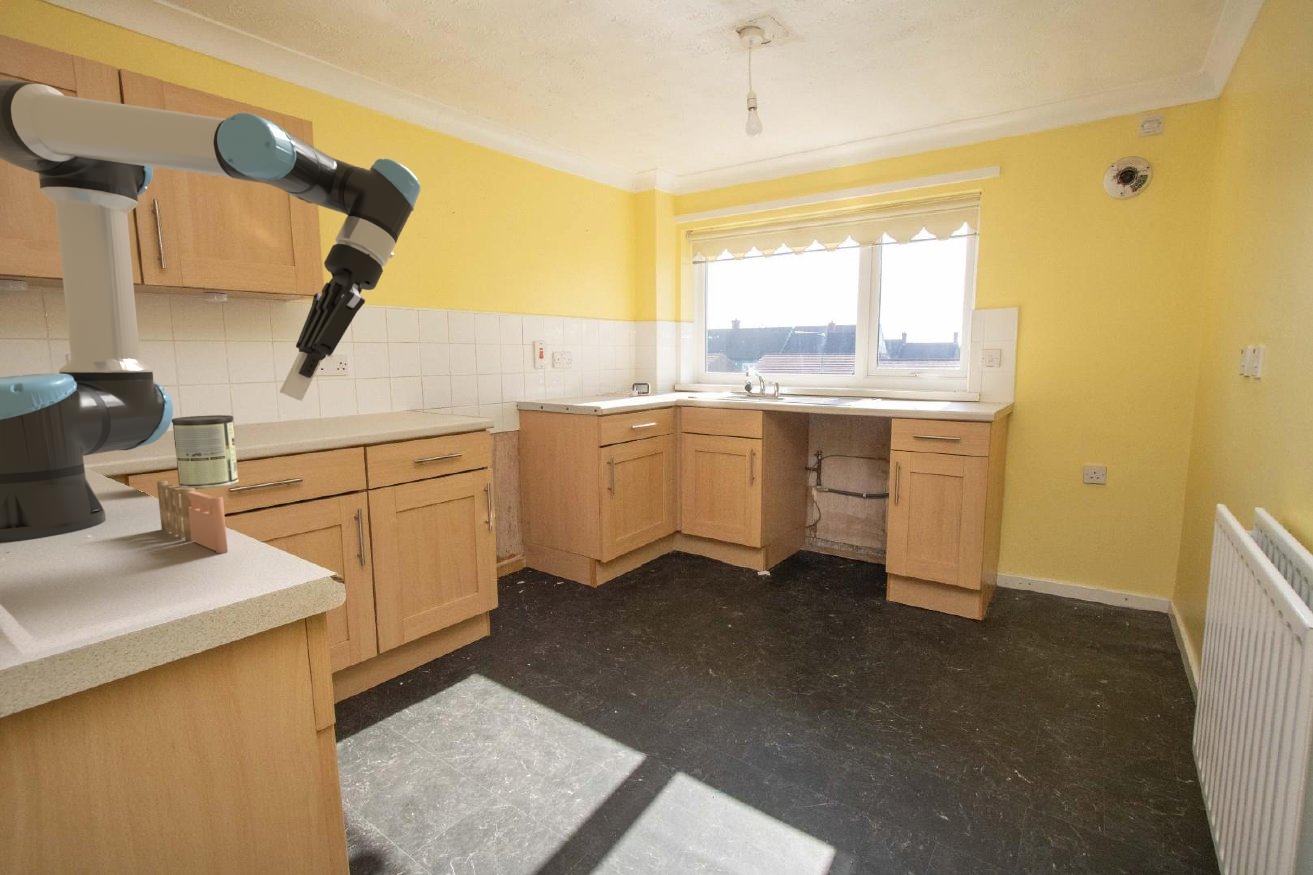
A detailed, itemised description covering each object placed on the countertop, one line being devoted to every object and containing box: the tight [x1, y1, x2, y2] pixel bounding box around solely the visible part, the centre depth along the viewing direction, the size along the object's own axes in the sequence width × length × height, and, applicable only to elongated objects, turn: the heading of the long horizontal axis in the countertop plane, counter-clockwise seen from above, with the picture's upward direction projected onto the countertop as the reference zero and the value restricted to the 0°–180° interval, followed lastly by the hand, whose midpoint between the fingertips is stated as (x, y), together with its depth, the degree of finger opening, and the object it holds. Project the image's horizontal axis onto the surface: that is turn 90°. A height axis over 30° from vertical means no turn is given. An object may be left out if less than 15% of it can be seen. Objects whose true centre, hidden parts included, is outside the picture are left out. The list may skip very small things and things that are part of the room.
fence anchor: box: [156, 480, 196, 543], centre depth 88 cm, size 11×2×8 cm, turn 55°
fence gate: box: [188, 490, 229, 555], centre depth 82 cm, size 9×1×7 cm, turn 55°
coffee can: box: [171, 414, 240, 490], centre depth 129 cm, size 10×10×14 cm
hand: (290, 396), depth 90 cm, fingers closed
